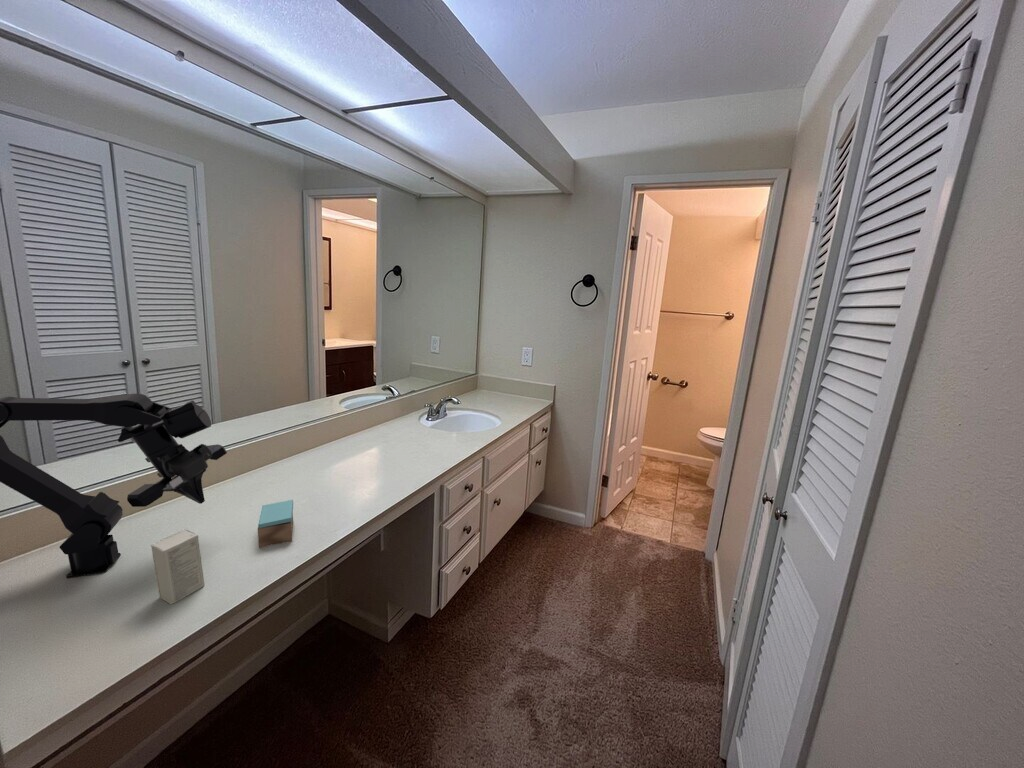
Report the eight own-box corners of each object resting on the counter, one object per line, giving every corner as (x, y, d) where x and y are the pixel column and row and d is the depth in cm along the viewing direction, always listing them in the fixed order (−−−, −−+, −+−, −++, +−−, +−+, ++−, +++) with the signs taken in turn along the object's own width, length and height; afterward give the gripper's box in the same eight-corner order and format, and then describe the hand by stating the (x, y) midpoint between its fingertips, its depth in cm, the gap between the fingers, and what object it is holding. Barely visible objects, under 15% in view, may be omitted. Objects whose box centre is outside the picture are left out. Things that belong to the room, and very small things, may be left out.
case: (259, 547, 98) (257, 528, 97) (262, 527, 106) (261, 510, 104) (291, 541, 101) (290, 523, 100) (293, 522, 109) (292, 505, 108)
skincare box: (192, 579, 86) (186, 528, 84) (205, 586, 84) (199, 534, 82) (157, 598, 81) (149, 544, 78) (170, 606, 79) (162, 550, 76)
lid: (258, 528, 97) (258, 524, 96) (262, 509, 105) (262, 505, 104) (291, 521, 99) (291, 517, 99) (293, 503, 108) (292, 499, 107)
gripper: (132, 473, 77) (181, 533, 83) (221, 421, 93) (257, 475, 99) (104, 475, 82) (153, 532, 88) (193, 425, 98) (229, 477, 103)
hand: (202, 502), depth 94 cm, fingers closed
